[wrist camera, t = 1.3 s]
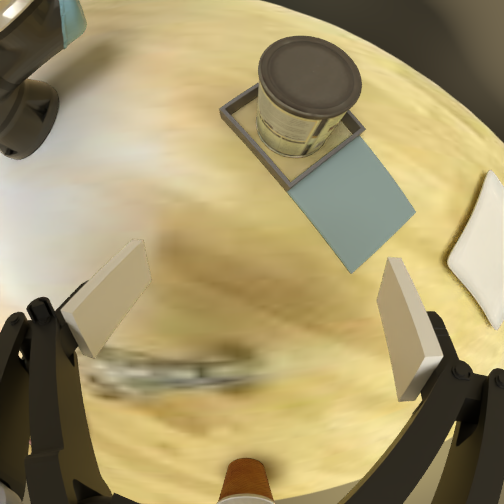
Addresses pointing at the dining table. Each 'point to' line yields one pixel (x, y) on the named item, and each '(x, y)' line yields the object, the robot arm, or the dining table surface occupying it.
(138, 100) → the dining table surface
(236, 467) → the disposable coffee cup
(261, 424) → the dining table surface
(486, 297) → the salad plate
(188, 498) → the dining table surface
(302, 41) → the coffee can
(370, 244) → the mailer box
